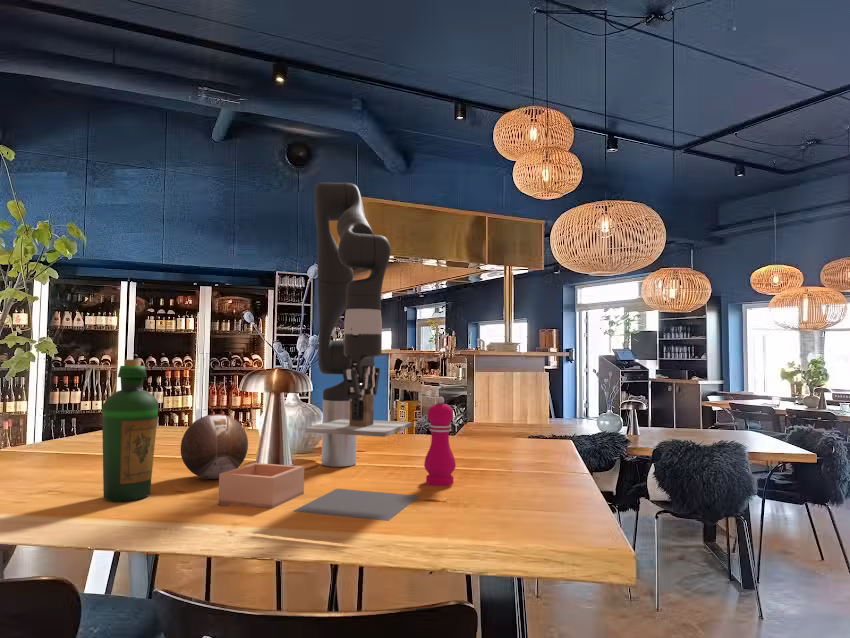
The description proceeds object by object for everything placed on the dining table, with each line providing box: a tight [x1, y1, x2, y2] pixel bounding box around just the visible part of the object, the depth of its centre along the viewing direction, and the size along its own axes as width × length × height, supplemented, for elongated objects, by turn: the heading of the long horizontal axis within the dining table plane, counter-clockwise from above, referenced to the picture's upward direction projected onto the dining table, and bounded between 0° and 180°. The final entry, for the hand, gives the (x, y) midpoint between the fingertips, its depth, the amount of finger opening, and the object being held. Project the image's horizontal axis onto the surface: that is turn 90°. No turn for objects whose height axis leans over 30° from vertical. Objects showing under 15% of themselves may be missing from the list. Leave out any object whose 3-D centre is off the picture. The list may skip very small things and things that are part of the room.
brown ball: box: [180, 413, 249, 480], centre depth 137 cm, size 15×15×15 cm
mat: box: [293, 488, 421, 522], centre depth 113 cm, size 19×19×1 cm
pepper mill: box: [423, 396, 456, 487], centre depth 133 cm, size 7×7×20 cm
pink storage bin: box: [217, 462, 305, 509], centre depth 117 cm, size 12×12×6 cm
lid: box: [305, 394, 413, 438], centre depth 115 cm, size 16×16×7 cm
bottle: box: [101, 359, 160, 503], centre depth 118 cm, size 11×11×28 cm
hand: (361, 418), depth 115 cm, fingers closed on lid, 3 cm apart
